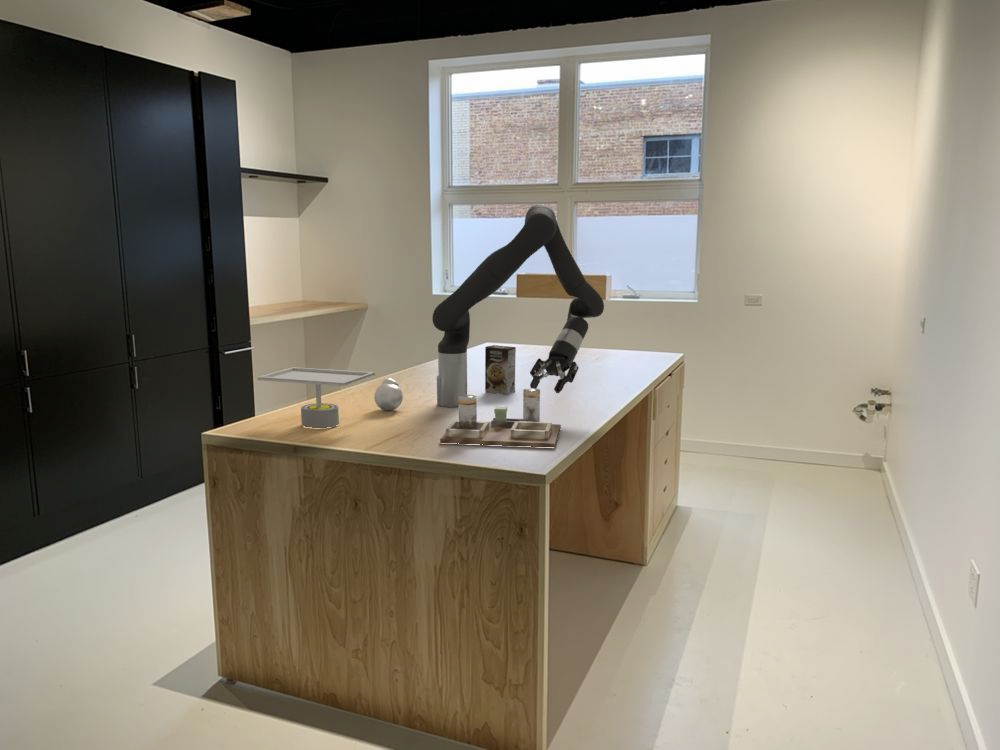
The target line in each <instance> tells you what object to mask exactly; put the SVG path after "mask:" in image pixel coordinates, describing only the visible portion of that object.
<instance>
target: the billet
mask: <svg viewBox="0 0 1000 750" xmlns="http://www.w3.org/2000/svg"><path fill="white" fill-rule="evenodd" d="M522 390H523V391H522V394H523V395H522V396H523V397H522V400H523V401H522V403H523V404H522V407H523V409H522V414H523V415H522V419H529V422H541V417H540V415H541V389H539V388H538V387H537V388H531V387H526V388H523V389H522Z"/></svg>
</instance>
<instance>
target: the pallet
mask: <svg viewBox="0 0 1000 750" xmlns="http://www.w3.org/2000/svg"><path fill="white" fill-rule="evenodd" d="M561 428H562V426H561V423H560V424H558V423H557V424H555V423H552V422H548V421H547V422H546V421H540V422H529V419H523V418H511V417H510V418H508V417H507V421H497V420H495V417H493V418H492V419H491V421H477V430H469V429H459V420H453V421H452V422H451V423H450V424H449V425H448V426H447V427H446V428H445V433H443V435H442V436H441V437H440V439H439V444H440V443H457V444H458V443H459V444H480V445H482V444H483V445H502V446H531V447H555V448H556V446H555V445H557V443H558V440H557V438H558V439H559V437H558V435H559V436H560V434H559V432H560V433H561V430H562V429H561ZM560 429H561V430H560ZM556 442H557V443H556Z"/></svg>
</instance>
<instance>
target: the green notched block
mask: <svg viewBox="0 0 1000 750" xmlns="http://www.w3.org/2000/svg"><path fill="white" fill-rule="evenodd" d="M493 411H494V418H495V420H497V421H507V418H508V417H507V413H508V406H495V408H494V409H493Z"/></svg>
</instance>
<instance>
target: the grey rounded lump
mask: <svg viewBox="0 0 1000 750" xmlns="http://www.w3.org/2000/svg"><path fill="white" fill-rule="evenodd" d="M373 398H374V403H375V405H376V406H377V407H378V408H380V410H382V411H388V412H391V411H394V410H396V409H398V408H399V407H400V406H401V404H402V403H403V399H404V394H403V391H402V389H401V388H400V386H399V382H398V381H396V380H395V379H392V378H391V377H387V378H385V379H383V380H382V382H381V384H380V385H379V386H377V388H376V389H375V392H374V397H373Z"/></svg>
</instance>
